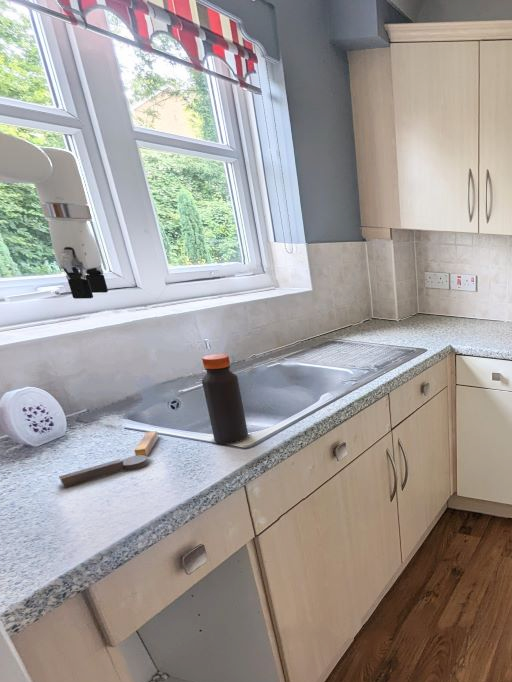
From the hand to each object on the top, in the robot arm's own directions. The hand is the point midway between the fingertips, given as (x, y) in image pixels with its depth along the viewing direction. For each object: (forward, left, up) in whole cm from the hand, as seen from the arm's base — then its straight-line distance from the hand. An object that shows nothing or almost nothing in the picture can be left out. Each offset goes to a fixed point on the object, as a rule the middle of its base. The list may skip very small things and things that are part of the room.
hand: (91, 295), depth 102 cm
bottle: (+24, -19, -31) cm, 44 cm away
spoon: (+4, -29, -31) cm, 43 cm away
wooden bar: (+8, -18, -31) cm, 37 cm away
